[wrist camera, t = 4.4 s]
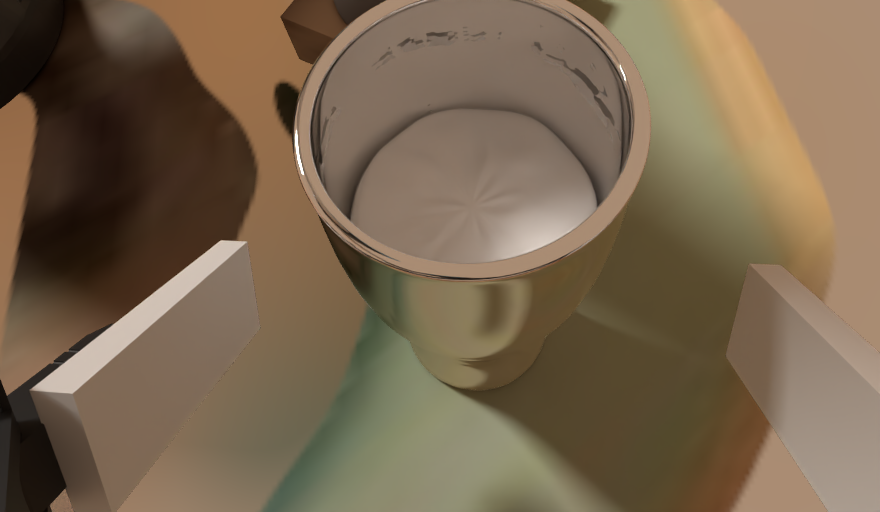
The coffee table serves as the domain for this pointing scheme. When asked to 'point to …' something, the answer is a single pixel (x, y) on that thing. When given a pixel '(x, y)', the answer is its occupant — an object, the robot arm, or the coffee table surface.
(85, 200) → the coffee table surface
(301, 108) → the silver metal cup
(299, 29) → the walnut plinth
